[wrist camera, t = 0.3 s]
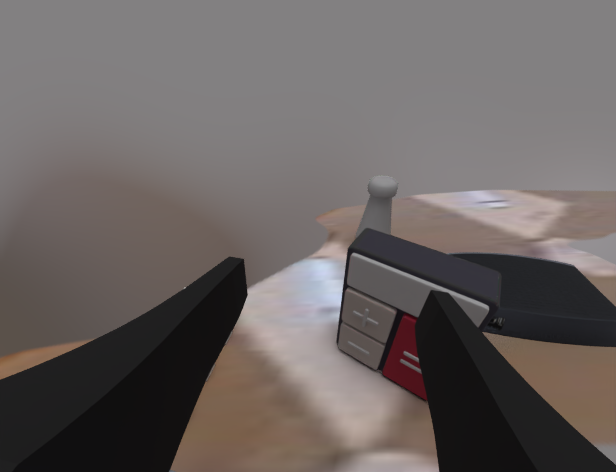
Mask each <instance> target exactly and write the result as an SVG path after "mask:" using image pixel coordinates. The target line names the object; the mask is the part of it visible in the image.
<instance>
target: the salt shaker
mask: <svg viewBox="0 0 616 472" xmlns="http://www.w3.org/2000/svg"><path fill="white" fill-rule="evenodd" d="M397 189H398V183H397V181H396V180H395V179H394V178H392V177H389V176H381V175H380V176H375V177H373V178H371V179H370V181H369V184H368V192H369V194H370V198H369V200H368V203H367V206H366V208H365V211H364V214H363V217H362V219H361V222H360V225H359V227H358V230H357V233H356V238H357V237H358V236H359V235H360V234H361V232H362V231H363V230H364V229H365V228H371V229H374V230H377V231H380V232H383V233H386V234H389V235H391V206H392V197H394V196H395V195H396V192H397Z"/></svg>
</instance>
